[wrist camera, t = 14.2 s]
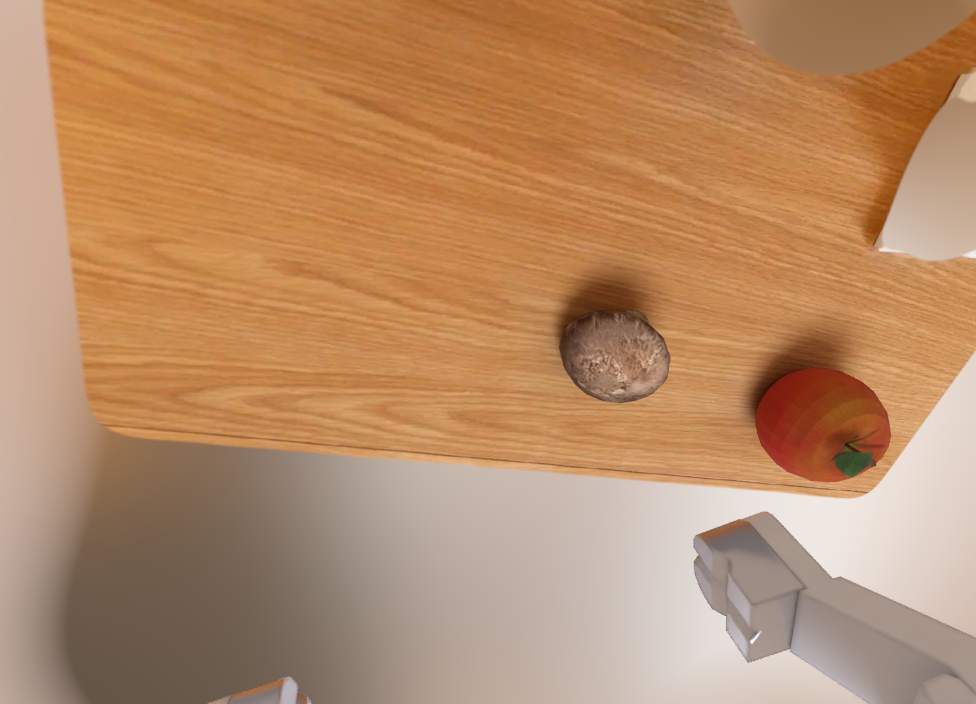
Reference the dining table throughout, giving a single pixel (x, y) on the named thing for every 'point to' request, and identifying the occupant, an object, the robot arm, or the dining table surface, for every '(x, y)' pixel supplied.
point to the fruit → (822, 425)
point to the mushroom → (615, 355)
